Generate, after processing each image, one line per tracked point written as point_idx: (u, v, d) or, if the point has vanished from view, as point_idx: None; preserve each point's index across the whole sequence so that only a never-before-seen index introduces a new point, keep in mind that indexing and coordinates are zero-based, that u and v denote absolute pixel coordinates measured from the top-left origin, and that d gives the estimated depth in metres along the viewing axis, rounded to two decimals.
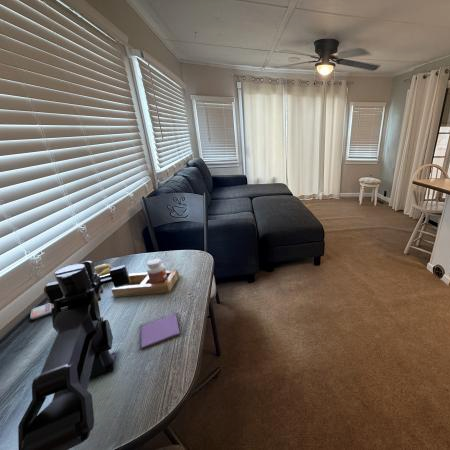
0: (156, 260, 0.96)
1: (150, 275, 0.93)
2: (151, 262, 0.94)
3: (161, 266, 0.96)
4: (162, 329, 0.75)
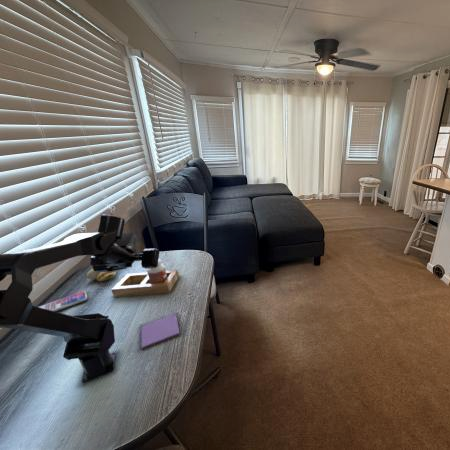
0: None
1: (150, 275, 0.93)
2: None
3: (161, 266, 0.96)
4: (162, 329, 0.75)
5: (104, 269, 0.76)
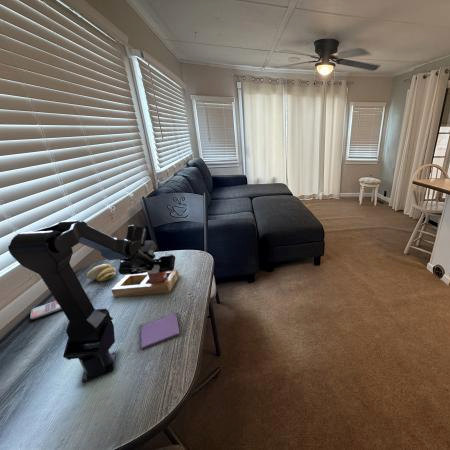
0: None
1: (150, 275, 0.93)
2: None
3: None
4: (162, 329, 0.75)
5: (128, 272, 0.87)
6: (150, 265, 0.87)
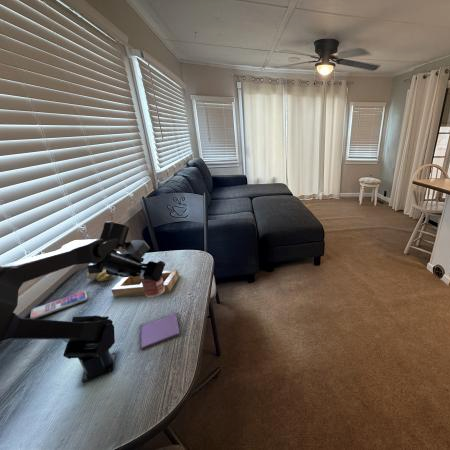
0: None
1: (141, 280, 0.80)
2: None
3: None
4: (162, 329, 0.75)
5: (114, 274, 0.76)
6: (133, 270, 0.73)
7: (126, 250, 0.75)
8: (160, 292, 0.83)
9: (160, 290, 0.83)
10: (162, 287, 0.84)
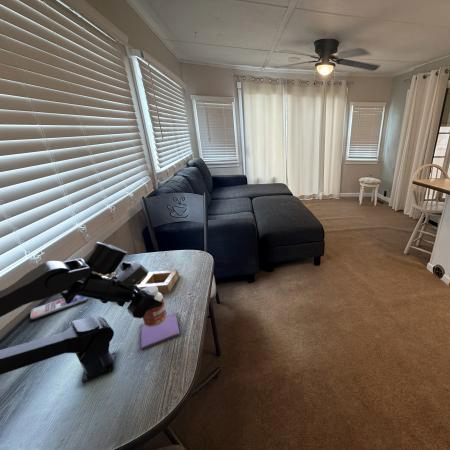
0: (152, 289, 0.71)
1: None
2: (145, 290, 0.70)
3: None
4: (162, 329, 0.75)
5: None
6: (120, 300, 0.62)
7: (121, 273, 0.65)
8: (158, 323, 0.71)
9: (158, 321, 0.71)
10: (161, 317, 0.72)
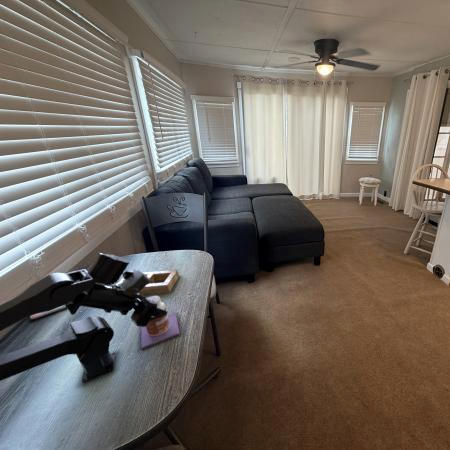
0: (155, 299, 0.72)
1: None
2: None
3: None
4: None
5: None
6: (123, 309, 0.63)
7: (124, 282, 0.66)
8: (161, 332, 0.73)
9: (161, 330, 0.73)
10: (164, 327, 0.73)
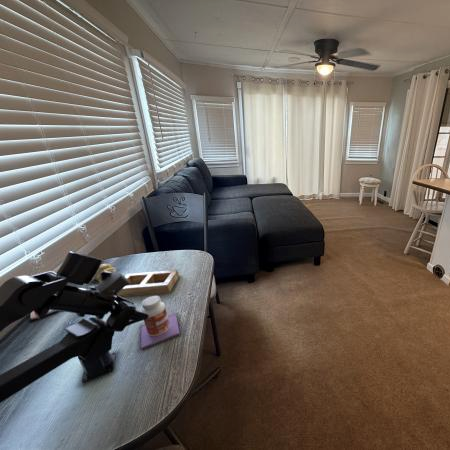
0: (155, 299, 0.72)
1: None
2: (147, 300, 0.71)
3: (156, 310, 0.71)
4: None
5: None
6: (99, 312, 0.59)
7: (100, 283, 0.61)
8: (161, 332, 0.73)
9: (161, 330, 0.73)
10: (164, 327, 0.73)
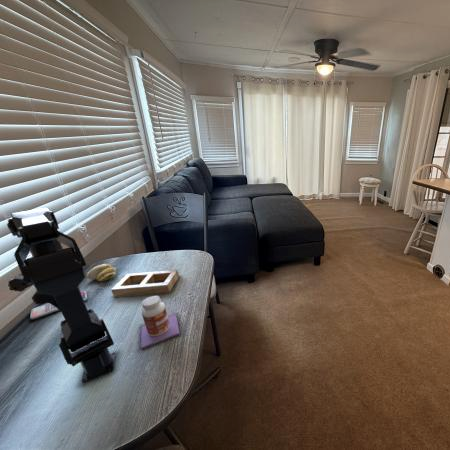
0: (155, 299, 0.72)
1: None
2: (147, 300, 0.71)
3: (156, 310, 0.71)
4: None
5: None
6: None
7: None
8: (161, 332, 0.73)
9: (161, 330, 0.73)
10: (164, 327, 0.73)
